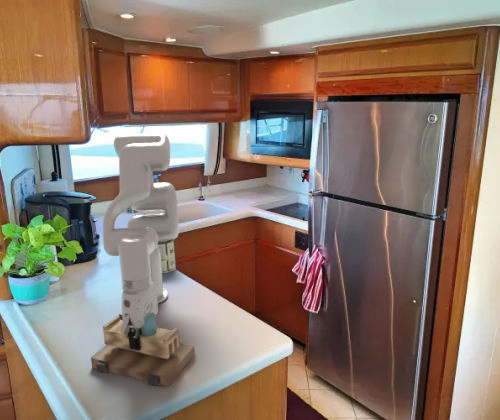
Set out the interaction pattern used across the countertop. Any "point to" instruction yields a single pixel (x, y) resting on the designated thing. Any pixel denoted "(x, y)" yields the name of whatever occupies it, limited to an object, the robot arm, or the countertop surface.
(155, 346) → the light wood long block
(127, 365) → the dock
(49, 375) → the countertop surface
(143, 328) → the teal cylinder
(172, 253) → the coffee can
